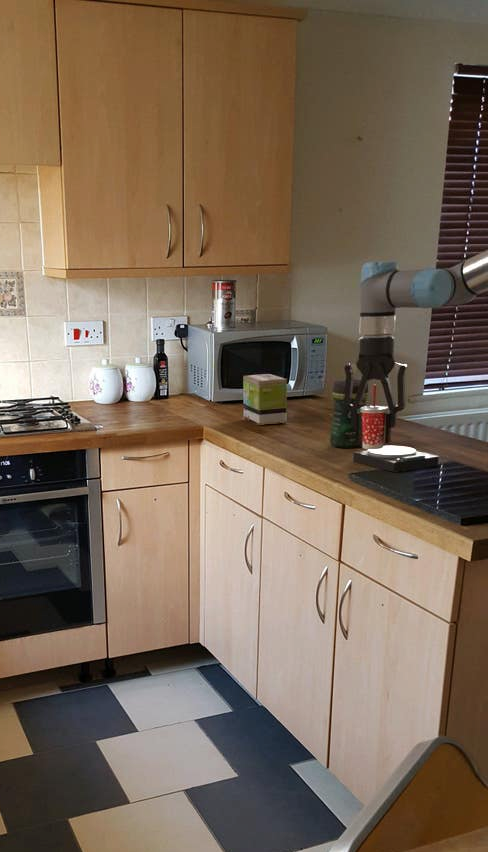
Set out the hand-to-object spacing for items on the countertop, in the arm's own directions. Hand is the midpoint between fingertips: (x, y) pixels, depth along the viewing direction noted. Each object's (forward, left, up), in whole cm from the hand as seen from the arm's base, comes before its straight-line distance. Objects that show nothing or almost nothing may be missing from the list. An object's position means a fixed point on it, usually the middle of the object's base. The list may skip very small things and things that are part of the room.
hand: (372, 441), depth 199 cm
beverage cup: (0, 0, -2) cm, 2 cm away
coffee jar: (+41, -25, -10) cm, 49 cm away
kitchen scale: (+15, -20, -10) cm, 27 cm away
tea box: (+90, -28, -10) cm, 95 cm away
